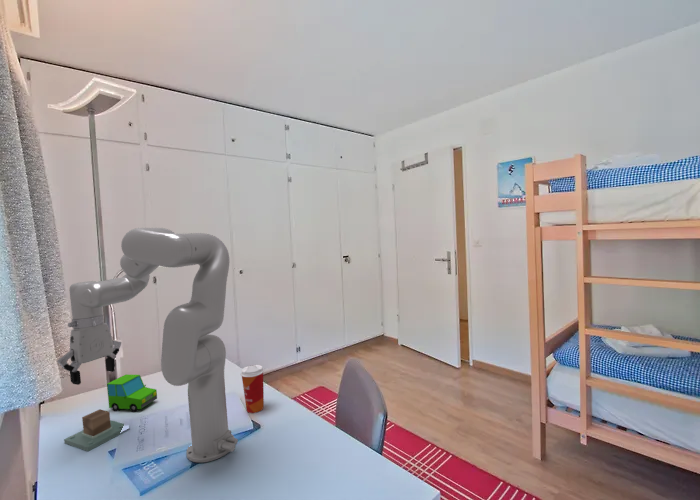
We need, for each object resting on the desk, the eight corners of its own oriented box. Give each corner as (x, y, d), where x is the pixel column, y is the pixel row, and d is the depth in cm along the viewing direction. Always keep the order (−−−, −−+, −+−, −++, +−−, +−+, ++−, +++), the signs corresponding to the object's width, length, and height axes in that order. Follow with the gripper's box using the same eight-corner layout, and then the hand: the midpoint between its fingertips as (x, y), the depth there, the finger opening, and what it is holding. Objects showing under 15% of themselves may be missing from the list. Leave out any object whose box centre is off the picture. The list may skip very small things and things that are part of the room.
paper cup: (243, 406, 121) (240, 366, 120) (265, 401, 123) (262, 362, 122) (243, 417, 113) (240, 374, 113) (267, 411, 116) (264, 370, 115)
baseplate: (129, 428, 110) (129, 423, 110) (88, 451, 99) (87, 445, 99) (106, 422, 115) (105, 417, 115) (64, 443, 104) (63, 437, 104)
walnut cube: (110, 427, 108) (109, 411, 108) (93, 436, 104) (91, 419, 104) (101, 424, 111) (99, 409, 110) (83, 433, 106) (82, 417, 106)
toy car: (139, 414, 120) (136, 386, 119) (106, 412, 122) (104, 385, 122) (160, 400, 130) (158, 373, 129) (130, 399, 132) (128, 373, 132)
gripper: (62, 330, 97) (69, 391, 97) (124, 315, 112) (130, 367, 113) (47, 329, 100) (54, 387, 100) (110, 315, 115) (115, 365, 116)
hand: (94, 377), depth 107 cm, fingers open, 9 cm apart
